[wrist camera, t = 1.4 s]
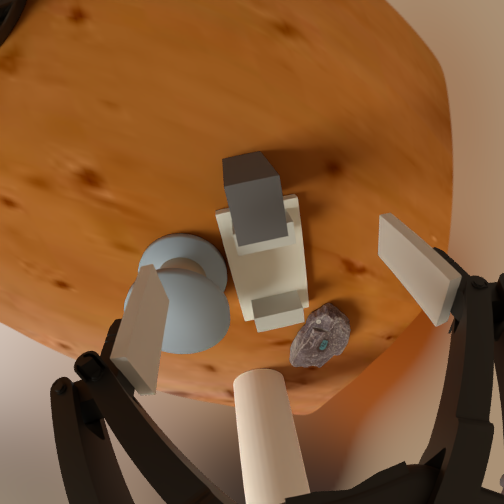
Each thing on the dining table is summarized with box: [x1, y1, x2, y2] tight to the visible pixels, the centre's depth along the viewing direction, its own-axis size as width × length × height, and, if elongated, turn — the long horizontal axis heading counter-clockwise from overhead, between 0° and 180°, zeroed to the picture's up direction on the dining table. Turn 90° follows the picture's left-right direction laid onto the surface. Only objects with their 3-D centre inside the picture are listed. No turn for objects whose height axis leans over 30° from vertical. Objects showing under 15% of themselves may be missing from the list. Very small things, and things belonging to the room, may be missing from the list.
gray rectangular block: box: [222, 151, 288, 247], centre depth 25 cm, size 5×4×10 cm
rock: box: [289, 303, 351, 368], centre depth 41 cm, size 8×11×5 cm
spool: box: [124, 233, 230, 354], centre depth 31 cm, size 11×11×8 cm
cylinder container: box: [233, 369, 310, 504], centre depth 36 cm, size 9×9×30 cm
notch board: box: [216, 194, 309, 332], centre depth 33 cm, size 16×9×5 cm, turn 11°
